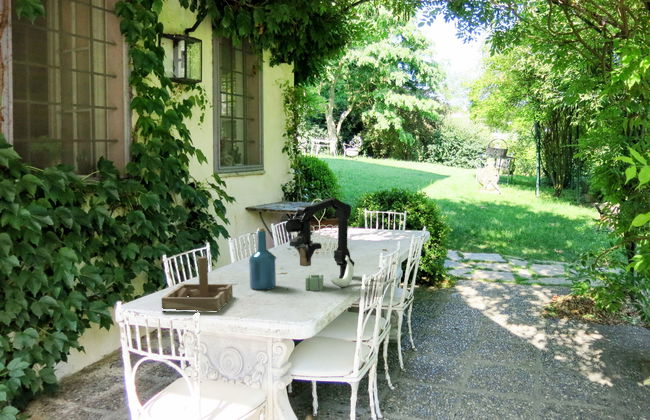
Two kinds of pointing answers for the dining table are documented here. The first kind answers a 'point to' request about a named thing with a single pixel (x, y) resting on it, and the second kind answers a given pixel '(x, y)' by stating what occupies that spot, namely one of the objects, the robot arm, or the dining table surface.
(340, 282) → the banana
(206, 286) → the wooden blocks
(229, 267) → the dining table surface
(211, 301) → the crate frame
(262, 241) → the wine bottle
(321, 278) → the green open frame
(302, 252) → the walnut peg
